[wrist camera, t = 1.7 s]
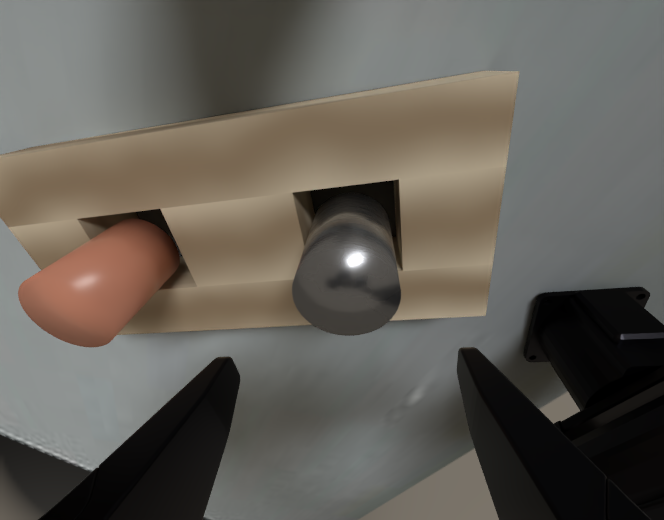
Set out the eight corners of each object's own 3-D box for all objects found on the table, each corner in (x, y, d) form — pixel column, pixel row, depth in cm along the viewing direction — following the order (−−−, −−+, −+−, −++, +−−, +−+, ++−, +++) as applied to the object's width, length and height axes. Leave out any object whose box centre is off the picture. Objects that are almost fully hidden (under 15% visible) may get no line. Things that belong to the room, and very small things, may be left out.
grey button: (392, 259, 17) (403, 332, 12) (320, 264, 17) (303, 337, 13) (387, 187, 15) (398, 243, 10) (306, 197, 15) (280, 254, 11)
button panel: (465, 275, 21) (485, 315, 17) (129, 299, 25) (92, 336, 22) (483, 70, 15) (519, 71, 11) (32, 147, 19) (-41, 164, 15)
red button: (190, 275, 18) (132, 345, 14) (131, 280, 19) (57, 348, 14) (161, 214, 16) (81, 272, 12) (96, 222, 17) (-4, 280, 12)
